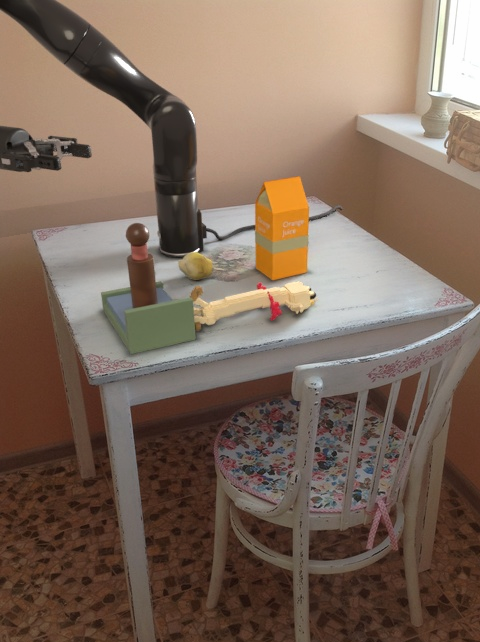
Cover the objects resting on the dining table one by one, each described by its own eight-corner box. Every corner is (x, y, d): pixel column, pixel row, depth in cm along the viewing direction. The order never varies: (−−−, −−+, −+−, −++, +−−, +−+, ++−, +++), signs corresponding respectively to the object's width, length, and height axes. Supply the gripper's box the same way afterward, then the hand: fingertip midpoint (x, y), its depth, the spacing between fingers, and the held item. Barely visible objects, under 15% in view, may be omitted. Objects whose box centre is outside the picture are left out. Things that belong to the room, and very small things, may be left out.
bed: (162, 299, 140) (159, 262, 136) (195, 339, 126) (193, 299, 122) (103, 311, 135) (97, 272, 131) (131, 354, 122) (125, 313, 117)
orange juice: (307, 272, 152) (310, 180, 141) (272, 280, 148) (272, 187, 137) (289, 260, 158) (290, 171, 147) (254, 267, 154) (253, 176, 143)
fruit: (228, 280, 148) (182, 281, 144) (218, 277, 153) (174, 278, 149) (228, 252, 147) (182, 252, 143) (218, 251, 152) (174, 251, 148)
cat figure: (200, 343, 128) (326, 312, 134) (194, 300, 123) (324, 271, 129) (187, 319, 135) (306, 291, 142) (180, 278, 130) (304, 251, 137)
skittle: (153, 300, 131) (145, 217, 123) (161, 310, 128) (153, 225, 119) (129, 305, 130) (119, 221, 121) (136, 315, 126) (127, 229, 117)
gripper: (-33, 134, 119) (44, 145, 114) (23, 118, 130) (96, 126, 125) (-23, 178, 123) (52, 190, 118) (31, 158, 134) (102, 168, 129)
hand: (75, 157), depth 121 cm, fingers open, 8 cm apart
